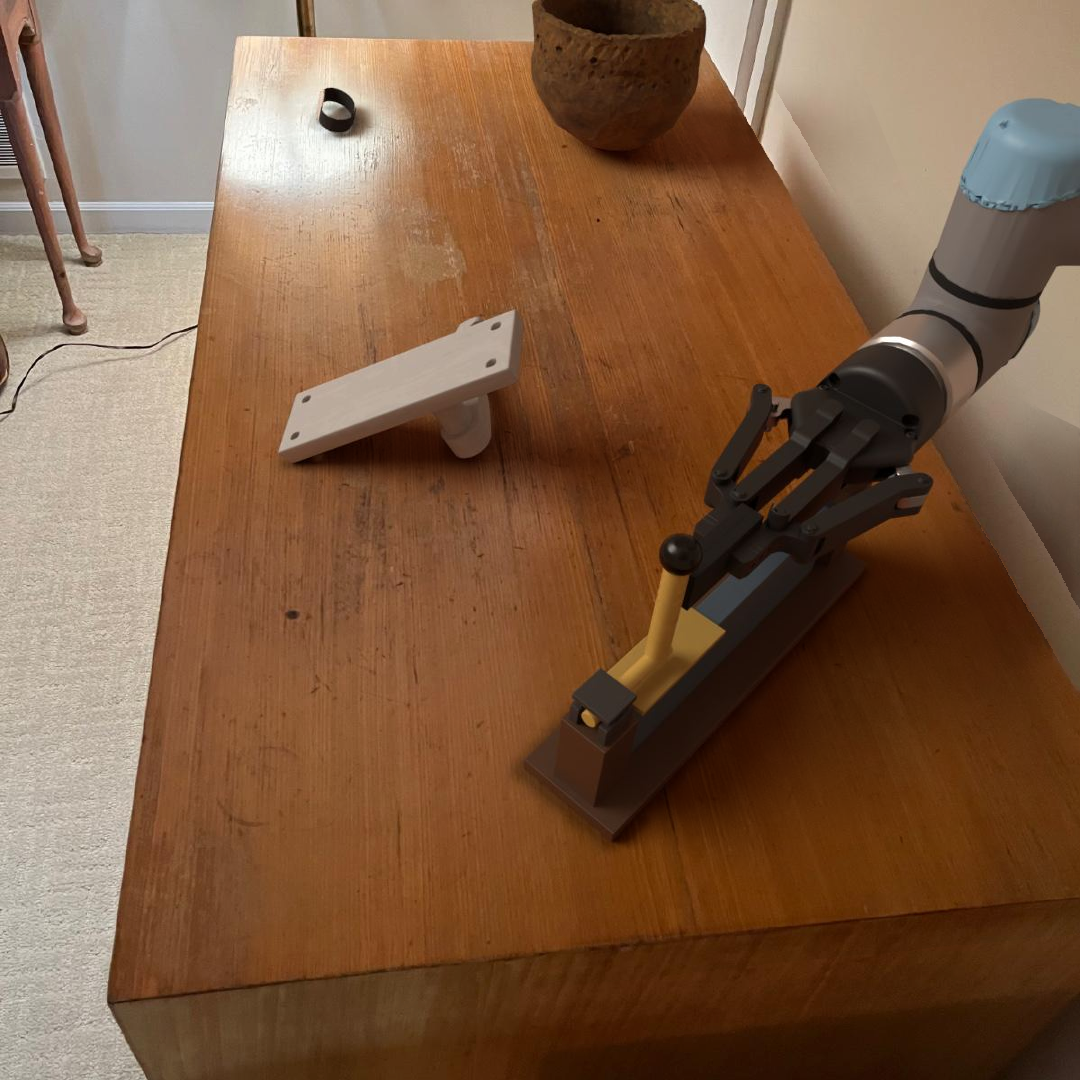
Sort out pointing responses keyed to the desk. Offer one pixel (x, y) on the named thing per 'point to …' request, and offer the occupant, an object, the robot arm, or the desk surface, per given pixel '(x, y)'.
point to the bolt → (663, 609)
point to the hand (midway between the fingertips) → (680, 587)
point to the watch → (342, 99)
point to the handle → (413, 391)
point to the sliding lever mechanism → (686, 685)
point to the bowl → (617, 66)
